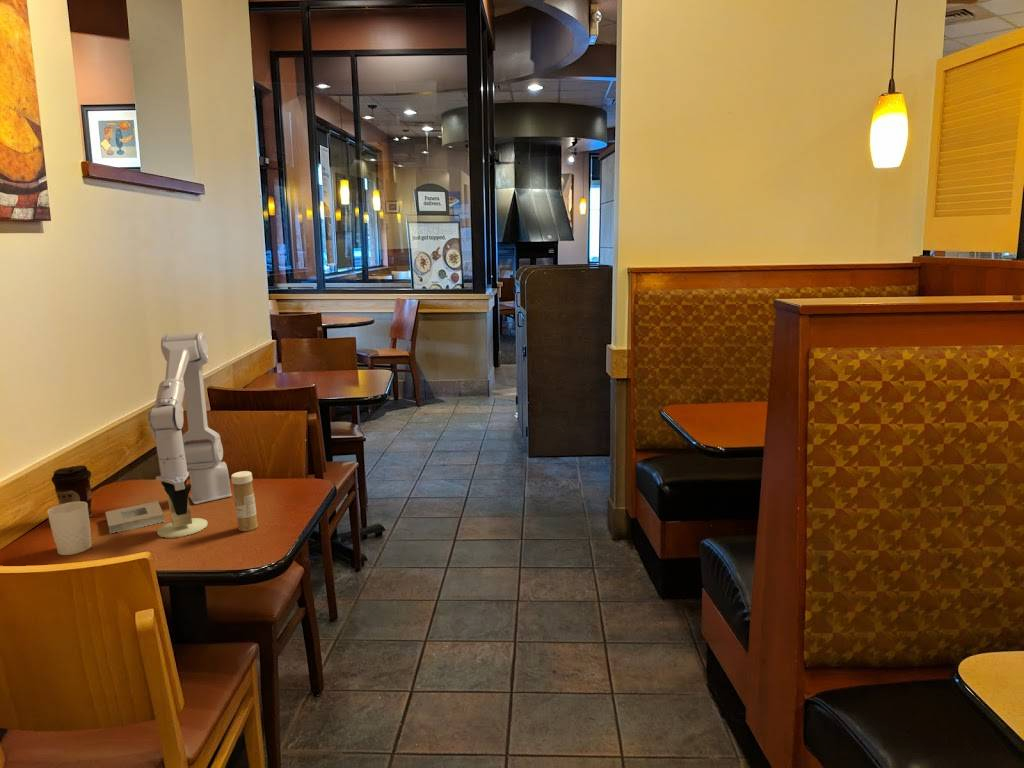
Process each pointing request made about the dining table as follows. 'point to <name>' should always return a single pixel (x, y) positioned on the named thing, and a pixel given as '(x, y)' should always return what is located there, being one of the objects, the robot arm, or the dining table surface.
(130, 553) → the dining table surface
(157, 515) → the socket block
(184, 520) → the square peg
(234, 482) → the sprinkles bottle
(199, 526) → the mat
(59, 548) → the white cup
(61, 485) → the coffee cup
